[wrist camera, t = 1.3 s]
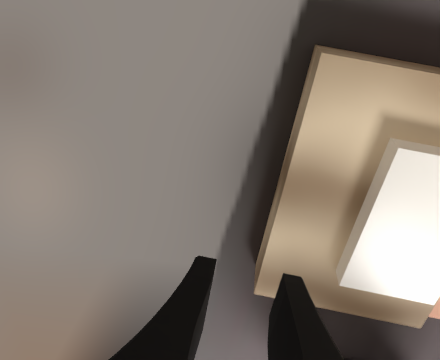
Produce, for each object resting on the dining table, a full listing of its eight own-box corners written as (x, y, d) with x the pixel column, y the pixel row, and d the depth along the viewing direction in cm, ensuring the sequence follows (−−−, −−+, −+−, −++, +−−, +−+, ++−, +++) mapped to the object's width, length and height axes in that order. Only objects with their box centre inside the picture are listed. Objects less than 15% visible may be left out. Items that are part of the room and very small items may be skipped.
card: (425, 288, 20) (433, 305, 19) (335, 270, 20) (338, 285, 19) (501, 158, 16) (517, 170, 15) (390, 137, 16) (398, 147, 15)
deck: (406, 297, 24) (420, 328, 21) (255, 265, 24) (253, 293, 22) (527, 83, 17) (566, 97, 15) (315, 44, 17) (321, 52, 15)
